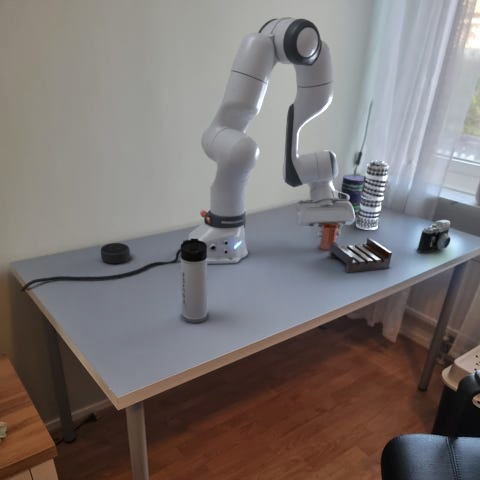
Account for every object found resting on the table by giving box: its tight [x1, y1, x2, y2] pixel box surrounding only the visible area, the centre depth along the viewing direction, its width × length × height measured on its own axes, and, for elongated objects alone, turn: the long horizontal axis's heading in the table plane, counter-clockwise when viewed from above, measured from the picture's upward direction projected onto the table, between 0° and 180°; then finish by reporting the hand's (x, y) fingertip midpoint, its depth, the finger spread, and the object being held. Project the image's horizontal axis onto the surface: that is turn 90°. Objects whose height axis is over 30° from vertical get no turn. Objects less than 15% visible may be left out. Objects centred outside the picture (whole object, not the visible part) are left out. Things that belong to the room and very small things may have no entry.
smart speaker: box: [100, 242, 131, 264], centre depth 142 cm, size 9×9×4 cm
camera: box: [416, 219, 452, 254], centre depth 158 cm, size 15×7×10 cm, turn 130°
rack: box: [328, 237, 393, 274], centre depth 147 cm, size 15×13×5 cm
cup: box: [319, 224, 338, 251], centre depth 156 cm, size 5×5×8 cm
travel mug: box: [180, 239, 208, 324], centre depth 110 cm, size 6×7×20 cm
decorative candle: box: [355, 159, 390, 231], centre depth 172 cm, size 9×9×25 cm
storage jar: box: [340, 173, 366, 217], centre depth 189 cm, size 10×10×15 cm
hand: (329, 236), depth 156 cm, fingers closed on cup, 5 cm apart
